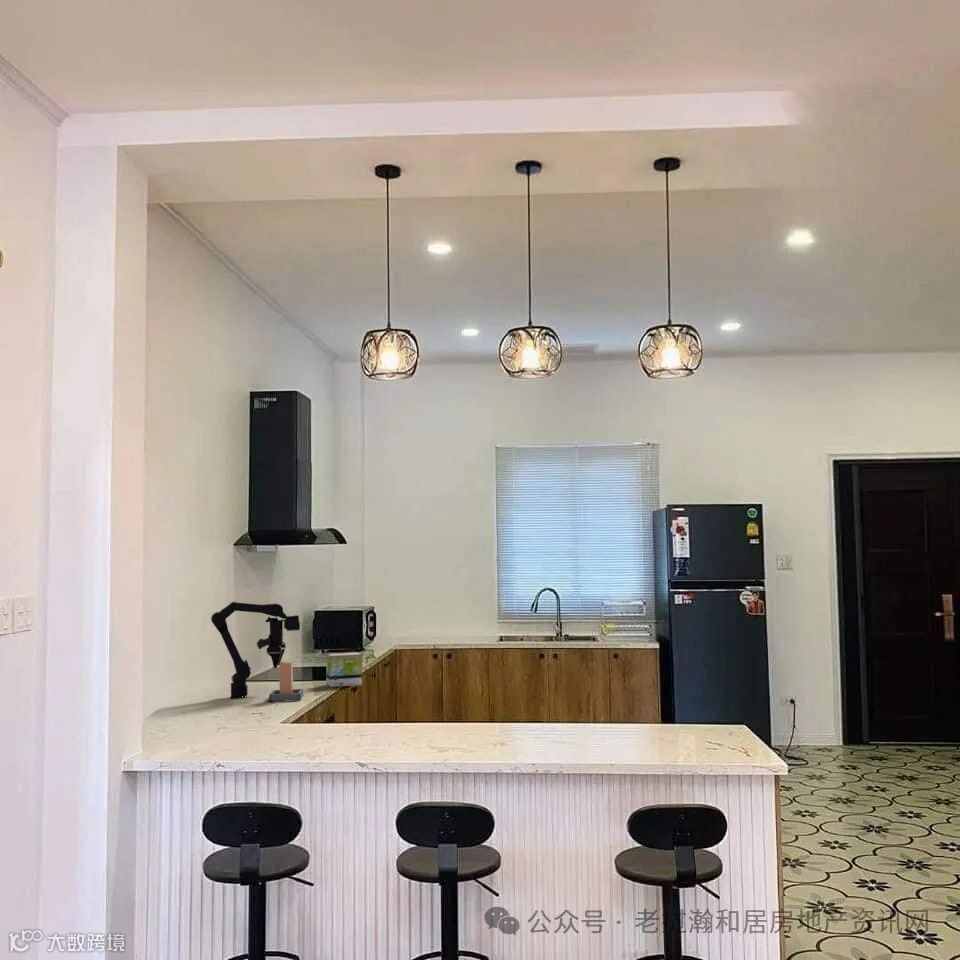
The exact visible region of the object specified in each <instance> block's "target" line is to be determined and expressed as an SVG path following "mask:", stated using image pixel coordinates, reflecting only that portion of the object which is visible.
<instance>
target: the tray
mask: <svg viewBox="0 0 960 960" xmlns="http://www.w3.org/2000/svg"><path fill="white" fill-rule="evenodd" d="M268 696H269V697H268V702H269V701H283V702H286V701H285V700H300V701H302V699H303V697H304V688H293V694H280V689H273V690H272V691H271V692H270V693H269V694H268ZM302 696H303V697H302ZM301 698H302V699H301Z"/></svg>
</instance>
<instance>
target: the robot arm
mask: <svg viewBox="0 0 960 960" xmlns="http://www.w3.org/2000/svg"><path fill="white" fill-rule="evenodd" d="M234 612H248V613H258V614H264V615H266V616H267V618H266V619H265V620H264V622H265V623H269V634H268V636H267V638H264V639H263V638H259V639H258V641H257V642H256V646H257V647H258V650H261V649H262V648H265V647H266V653H267V655H269V657H270V658H271V661H272V662H271V663H272V665H273V669H277V668H278V667H279V663H280V662H282V658H283V656H284V653H285V651H286V648H287V644H286V643H285V641H284V631H283V629H284V630H286V632H291V631H293V632H295V631H300V628H301V627H300V626H301V623H300V618H299V617H300V616H299V615H298V614H295V615H287V614H286V613H285V612H284V608H283V606H282V605H281V604H280V603H277V602H275V603H266V604H260V603H259V604H258V603H250V602H249V603H246V602H237V601H231V602H230V603H229V604H228V605H226V606H225V607H224V608H222V609H220V611H215V612H213V613H212V615H211V617H210V621H211V623H212V624H213V626H214V627H215V628H216V630H217V631H218V633H219V634H220V635H221V638H222V640H223V642H224V644H225V646H226V649H227V651H228V653H229V655H230V657H231V659H232V661H233V666H234V670H235V673H234V674H233V675H232V676H231V681H232V682H231V683H230V697H242V696H243V697H244V698H246V697H247V696H248V695H249V689H248V688H249V686H248V684H247V679H249V678H250V677H251V670H252V668H251V667H250V665H249V663H248V662H249V661H248V660H247V659H243V658H242V657H241V654H240V652H239V650H238V648H237V646H236V644H235V642H234V640H233V637H232V635H231V633H230V630H229V628H228V623H227V618H229V617H230V616H231V615H232V614H233V613H234ZM278 617H279V618H278ZM245 696H246V697H245Z"/></svg>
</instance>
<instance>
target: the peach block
mask: <svg viewBox="0 0 960 960" xmlns="http://www.w3.org/2000/svg"><path fill="white" fill-rule="evenodd" d="M293 663H294V662H293V661H292V660H291V661H290V660H289V661H288V660H287V661H281V662H280V663H279V665H278V667H279V671H278V672H279V690H280V694H293V689H294V677H293V676H294V672H293V671H294V670H293V669H294V668H293V667H294V666H293V665H294V664H293Z"/></svg>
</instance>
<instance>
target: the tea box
mask: <svg viewBox="0 0 960 960" xmlns="http://www.w3.org/2000/svg"><path fill="white" fill-rule="evenodd" d="M362 655H363V654H361V653H360V652H357V651H356V652H355V651H354V652H353V651H352V652H335V653H326V667H325V669H326V675H325V676H326V677H325V678H326V680H325V681H326V685H327V684H328V685H329V686H330V687H329V686H328V685H327V686H328V687H329V688H336V687H350V686H352V687H353V686H362V684H363V683H362V681H363V657H362Z"/></svg>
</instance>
